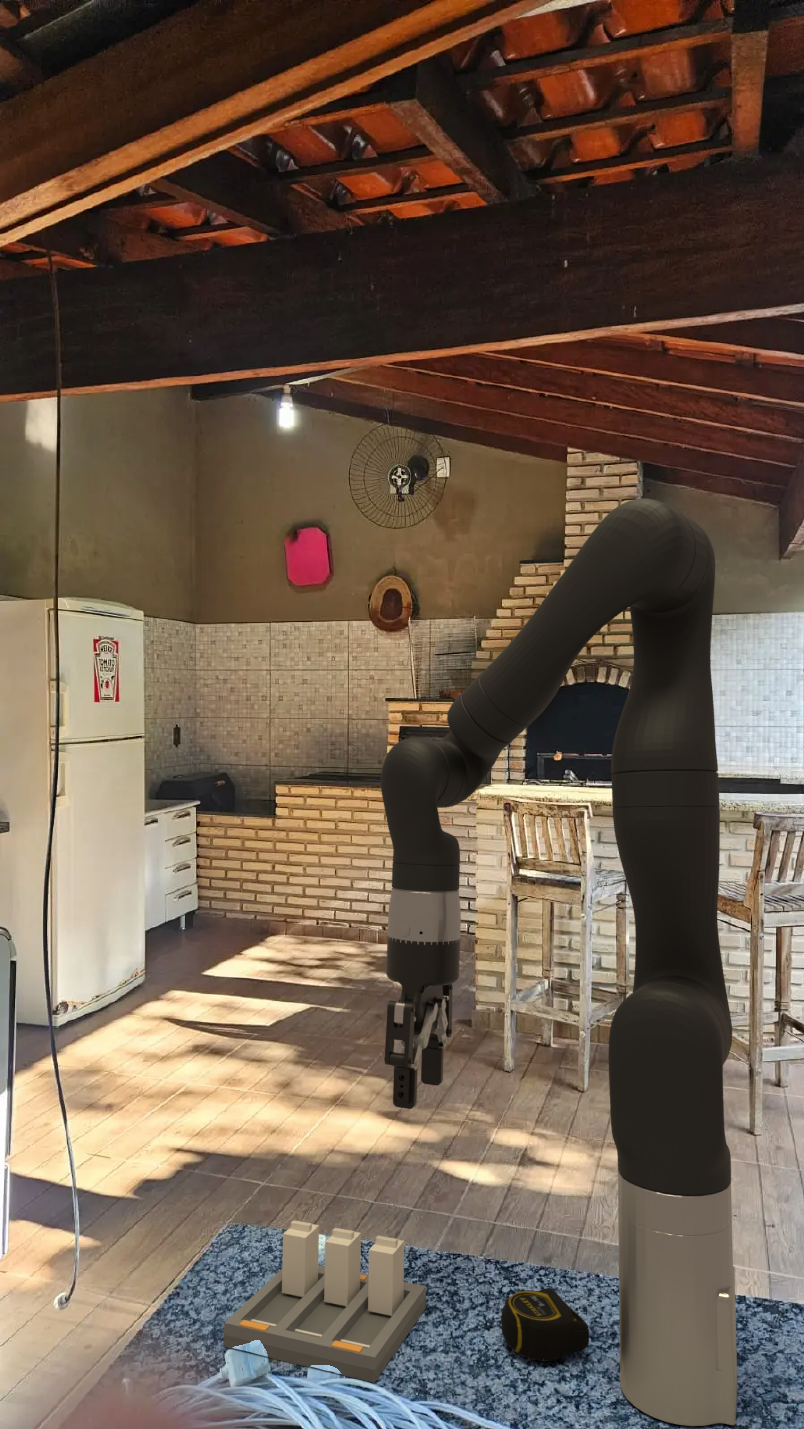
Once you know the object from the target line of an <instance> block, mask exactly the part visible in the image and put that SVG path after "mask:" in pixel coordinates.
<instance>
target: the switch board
mask: <svg viewBox="0 0 804 1429" xmlns="http://www.w3.org/2000/svg"><path fill="white" fill-rule="evenodd" d="M368 1283H369V1274H367V1273H362V1272H360V1291H359V1292H358V1294H357V1295H356V1296H355V1297H354V1298H353V1300H352V1301H351V1302H350V1303H349V1304H348V1305H347V1306H343V1305H338V1304H333V1303H329V1302H324V1287H325V1265H322V1264H321V1265H320V1264H318V1282H317V1283H316V1284H315V1285H314V1286H313V1287H312V1288H311V1289H310V1290H309V1291H308V1292H307V1293H306V1294H305V1295H304V1297H300V1296H295V1295H291V1294H286V1293H282V1268H281V1269H280V1270H279V1271H278V1272H277V1273H276V1274H274V1275H273V1277H271V1278H270V1280H268V1281H267V1282H266V1283H265V1284H264V1285H263V1286H261V1288H260V1289H259V1290H257V1291H256V1292H255V1294H253V1295H252V1296H251V1297H250V1298H249V1299H248V1300H247V1301H246V1302H244V1304H243V1305H242V1306H241V1307H239V1308H238V1309H237V1310H236V1311H235V1312H234V1313H233V1314H232V1315H231V1316H230V1317H229V1318H228V1319H227V1320H226V1321H225V1322H224V1324H223V1325H224V1326H223V1347H224V1348H227V1349H231V1348H232V1347H234V1346H239V1345H243V1344H246V1343H250V1342H251V1341H254V1340H260V1341H261V1343H262V1344H263V1346H264V1348H265V1349H266V1351H267V1354H268V1357H267V1358H269V1359H274V1360H278V1361H281V1362H286V1363H289V1364H293V1365H294V1364H295V1365H298V1366H302V1367H306V1368H307V1367H308V1368H310V1366H311V1365H330V1366H333V1367H335V1368H337V1369H338V1370H339V1371H340V1372H341V1373H342V1374H341V1375H340V1376H344V1377H347V1378H348V1377H349V1378H353V1379H357V1380H360V1381H365V1382H369V1383H373V1384H375V1383H376V1382H377V1381H378V1378H379V1377H380V1375H382V1373H383V1371H384V1370H385V1368H386V1367H387V1365H388V1364H389V1362H391V1360H392V1358H393V1357H394V1355H395V1354H396V1352H397V1351H398V1349H399V1348H400V1346H401V1345H402V1344H403V1342H404V1340H405V1339H406V1338H407V1336H408V1334H409V1333H410V1332H411V1331H412V1329H413V1327H414V1326H415V1324H416V1323H417V1321H418V1320H419V1319H420V1317H421V1316H422V1315H423V1312H424V1311H425V1310H426V1308H427V1285H423V1284H418V1283H412V1282H407V1281H404V1301H403V1302H402V1303H401V1305H400V1306H399V1307H398V1309H397V1310H396V1311H395V1313H394V1314H393V1315H392V1316H390V1315H385V1314H381V1313H376V1312H371V1311H368Z"/></svg>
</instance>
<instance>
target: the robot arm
mask: <svg viewBox="0 0 804 1429" xmlns="http://www.w3.org/2000/svg"><path fill="white" fill-rule="evenodd" d="M715 580H716V557H715V551H714V548H713V544H712V541H711V539H710V538H709V535H708V534H707V533H706V531H705V530H704V529H703V528H702V527H701V525H700V524H698V523H697V522H696V521H695V520H693V519H691V517H688V516H687V515H685V514H684V513H682V512H680V511H679V510H676V509H675V508H674V507H672V506H670V505H668V504H667V503H664V502H662V501H660V500H656V499H652V498H637V499H636V498H635V499H631V500H628V501H626V502H624V503H620V505H618V506H616V507H615V508H613V509H612V510H611V511H609V513H608V514H607V515H605V516H604V518H603V519H602V520H601V521H600V522H599V524H598V525H597V526H596V527H595V528H594V530H593V531H592V532H591V534H590V535H589V536H588V537H587V539H586V540H585V542H584V543H583V544H582V546H581V547H580V549H579V550H578V552H577V553H576V554H575V556H574V557H573V558H572V560H571V562H570V563H569V564H568V565H567V567H566V569H565V570H564V571H563V573H562V574H561V575H560V577H559V578H558V580H557V581H556V582H555V584H554V585H553V587H552V588H551V590H550V591H549V592H548V593H547V595H546V596H545V597H544V599H543V600H542V601H541V603H540V604H539V606H538V607H537V608H536V610H535V611H534V613H533V614H531V617H530V618H529V619H528V620H527V621H526V623H525V624H524V625H523V626H522V628H521V629H520V630H519V632H518V633H517V634H516V635H515V637H514V638H513V639H512V640H511V641H510V643H509V644H508V645H507V646H506V647H505V648H504V649H503V651H502V652H501V653H500V654H499V655H498V656H497V657H496V658H495V659H494V660H493V661H491V663H490V664H489V665H488V666H487V667H486V668H484V669H483V671H482V672H481V673H480V674H479V675H478V676H477V677H476V678H475V679H473V681H472V682H471V683H470V684H469V685H468V686H467V687H466V688H465V689H464V690H463V691H462V693H461V694H459V696H458V697H457V698H456V699H455V700H454V701H453V703H452V704H451V705H450V706H449V709H448V711H447V715H446V716H447V717H446V720H447V725H448V727H449V730H450V731H449V732H448V733H447V735H445V737H443V738H442V739H440V740H429V739H422V738H405V739H402V740H401V741H398V742H397V743H396V744H394V745H393V746H392V747H391V749H390V750H389V751H388V753H387V754H386V756H385V758H384V761H383V764H382V768H381V772H380V790H381V796H382V803H383V806H384V807H383V808H384V812H385V816H386V822H387V828H388V832H389V835H390V840H391V842H392V843H391V844H392V849H393V851H392V852H393V853H392V869H391V870H392V871H391V889H390V890H391V893H390V898H389V899H390V900H389V904H388V905H389V906H388V915H387V936H386V937H387V938H386V939H387V940H386V942H387V943H386V970H385V971H386V972H385V974H386V977H387V979H389V980H390V981H392V982H394V983H398V984H399V985H400V986H401V992H400V999H399V1000H397V1001H396V1000H389V1001H388V1003H387V1007H386V1009H387V1010H386V1027H385V1030H386V1031H385V1044H384V1064H385V1065H387V1066H391V1067H392V1068H393V1089H392V1090H393V1091H392V1093H393V1094H392V1103H393V1106H394V1107H396V1108H400V1109H407V1110H412V1109H413V1108H415V1107H416V1105H417V1103H418V1102H417V1098H418V1097H417V1095H418V1067H419V1061H420V1058H421V1062H420V1063H421V1066H420V1068H421V1069H420V1081H421V1083H422V1084H424V1085H429V1086H436V1087H438V1086H440V1084H441V1083H443V1080H444V1078H443V1077H444V1075H443V1074H444V1054H445V1052H444V1049H445V1048H446V1047H447V1044H448V1038H451V1036H452V1034H453V989H454V988H453V987H454V985H453V984H454V983H456V982H457V981H458V980H459V977H460V963H461V962H460V961H461V960H460V958H461V957H460V956H461V953H460V952H461V926H462V925H461V924H462V923H461V921H462V920H461V919H462V917H461V916H462V911H461V910H462V909H461V900H460V876H461V875H460V873H461V850H460V849H461V848H460V843H459V841H458V839H457V837H455V835H453V834H451V833H449V832H447V831H444V830H443V828H442V824H441V820H440V815H439V808H442V809H443V808H444V809H445V808H451V807H454V806H456V805H459V804H461V803H462V802H464V801H466V799H468V798H469V797H471V795H473V793H475V792H476V791H477V789H478V788H479V787H480V786H481V784H482V783H483V781H485V779H486V777H487V775H488V774H489V773H490V771H491V769H493V766H494V765H495V763H496V762H497V761H498V758H499V756H500V754H501V753H502V751H503V750H504V749H505V748H507V747H508V746H509V744H511V743H512V742H513V741H514V740H515V739H516V738H517V737H519V735H521V733H523V731H524V730H526V729H527V728H528V727H529V726H530V725H531V724H532V723H533V722H534V721H535V720H536V719H538V717H539V716H540V715H542V713H543V712H544V711H545V710H546V708H547V707H549V704H551V702H552V700H554V697H555V696H556V695H557V693H558V692H559V690H560V687H561V686H562V684H563V682H564V680H565V679H566V677H567V675H568V673H569V672H570V669H571V667H572V665H573V663H574V662H575V660H576V658H577V657H578V656H579V654H580V653H581V652H582V650H583V649H584V648H585V646H586V645H587V644H588V642H589V641H590V640H591V639H592V638H593V637H594V636H595V635H596V634H598V632H599V631H600V630H601V629H602V628H604V627H605V626H606V625H607V624H609V623H610V622H611V621H612V620H613V619H615V618H616V617H617V616H619V615H620V614H621V613H623V612H624V611H626V610H627V609H628V608H629V612H630V613H629V614H630V620H631V629H632V630H631V631H632V646H633V647H632V648H633V666H632V667H633V668H632V675H631V681H630V685H629V686H630V687H629V689H628V692H627V697H626V699H625V703H624V705H623V707H622V712H621V715H620V718H619V720H618V725H617V728H616V732H615V735H614V739H613V740H614V741H613V745H612V750H611V751H612V752H611V765H610V767H611V770H610V773H611V796H612V798H611V800H612V802H611V803H612V818H613V819H612V821H613V830H614V836H615V841H616V847H617V851H618V855H619V859H620V863H621V866H622V870H623V874H624V878H625V881H626V884H627V887H628V893H629V897H630V900H631V904H632V910H633V916H634V927H635V928H634V929H635V930H634V932H635V949H634V950H635V953H634V954H635V957H634V973H633V974H634V975H633V977H634V978H633V986H632V993H630V994H629V995H628V996H626V998H624V999H623V1001H621V1003H620V1004H619V1006H618V1007H617V1008H616V1010H615V1012H614V1014H613V1016H612V1020H611V1023H610V1026H609V1027H610V1029H609V1036H608V1083H609V1084H608V1085H609V1086H608V1088H609V1106H610V1108H609V1110H610V1112H609V1114H610V1128H611V1135H612V1138H613V1139H612V1140H613V1142H614V1145H615V1148H616V1153H617V1201H618V1202H617V1207H618V1208H617V1211H618V1212H617V1214H618V1215H617V1219H618V1220H617V1221H618V1222H617V1223H618V1226H617V1227H618V1232H617V1234H618V1291H619V1292H618V1295H619V1296H618V1299H619V1300H618V1301H619V1302H618V1304H619V1305H618V1307H619V1308H618V1310H619V1311H618V1313H619V1314H618V1316H619V1317H618V1318H619V1319H618V1320H619V1322H618V1324H619V1375H620V1376H619V1377H620V1378H619V1379H620V1381H619V1382H620V1383H619V1384H620V1388H621V1391H622V1394H623V1395H624V1396H625V1398H626V1399H627V1400H628V1401H629V1402H630V1403H631V1404H632V1405H633V1406H634V1407H635V1408H637V1409H638V1410H640V1411H641V1412H643V1413H644V1414H647V1415H648V1416H651V1417H653V1418H655V1419H658V1420H660V1421H662V1422H663V1421H664V1422H666V1423H670V1424H674V1425H680V1426H688V1427H689V1426H690V1427H696V1426H697V1427H699V1426H700V1427H702V1426H705V1427H706V1426H709V1425H715V1424H726V1425H730V1426H735V1425H736V1417H737V1400H738V1399H737V1396H738V1395H737V1394H738V1366H737V1365H738V1359H737V1358H738V1357H737V1322H736V1321H737V1318H736V1315H737V1311H736V1310H737V1308H736V1279H735V1278H736V1274H735V1272H736V1271H735V1267H734V1254H733V1253H734V1249H733V1246H734V1245H733V1244H734V1243H733V1210H732V1209H733V1208H732V1162H731V1161H732V1158H731V1157H732V1156H731V1151H730V1148H729V1145H728V1144H727V1137H726V1132H725V1130H726V1129H725V1108H724V1107H725V1106H724V1102H725V1101H724V1065H725V1063H726V1061H727V1059H728V1057H729V1055H730V1052H731V1049H732V1044H733V1022H732V1018H731V1017H732V1016H731V1011H730V1005H729V1000H728V992H727V988H726V986H727V985H726V980H725V975H724V968H723V960H722V951H721V944H720V937H719V924H718V906H719V905H718V901H719V886H720V883H719V882H720V859H721V858H720V855H721V848H720V847H721V846H720V845H721V844H720V842H721V838H720V837H721V836H720V833H721V831H720V830H721V828H720V826H721V824H720V822H721V810H720V809H721V808H720V806H721V804H720V803H721V802H720V784H719V782H720V780H719V772H718V771H719V766H718V753H717V745H716V744H717V743H716V726H715V725H716V723H715V722H716V721H715V720H716V719H715V708H714V707H715V706H714V703H715V702H714V691H713V683H712V681H713V679H712V669H711V667H712V666H711V660H712V659H711V651H712V650H711V648H712V646H711V645H712V630H713V629H712V627H713V614H714V612H713V611H714V610H713V609H714V599H715V598H714V597H715V586H716V585H715V582H716V581H715ZM403 1049H404V1050H403ZM402 1052H403V1053H402Z"/></svg>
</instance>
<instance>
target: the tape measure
mask: <svg viewBox="0 0 804 1429" xmlns="http://www.w3.org/2000/svg"><path fill="white" fill-rule="evenodd" d="M500 1324H501V1332H502V1334H503V1338H504V1341H505V1343H506V1344H507V1346H509V1347H510V1348H511V1349H512V1350H513V1351H514V1352H516V1353H518V1354H519V1355H520V1356H521V1357H525V1358H528V1359H531V1360H535V1361H540V1362H541V1361H545V1362H550V1361H551V1362H553V1361H559V1359H564V1358H565V1357H567V1356H570V1355H573V1354H579V1353H580V1352H582V1351H584V1350H586V1348H587V1347H588V1346H589V1342H590V1329H589V1325H588V1324H587V1322H586V1321H585V1320H584V1319H583V1318H582V1317H581V1316H580V1315H579V1314H578V1313H577V1312H576V1311H575V1310H574V1309H573V1308H571V1306H570V1305H569V1304H567V1302H565V1301H564V1300H563V1299H562V1297H561V1296H560V1295H559V1294H558V1293H557V1292H556V1291H555V1290H554V1289H552V1288H550V1287H547V1288H541V1289H540V1290H530V1289H529V1290H522V1291H518V1292H515V1293H513V1294H512V1295H510V1296H508V1298H506V1300H505V1302H504V1305H503V1307H502V1310H501V1322H500Z"/></svg>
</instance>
